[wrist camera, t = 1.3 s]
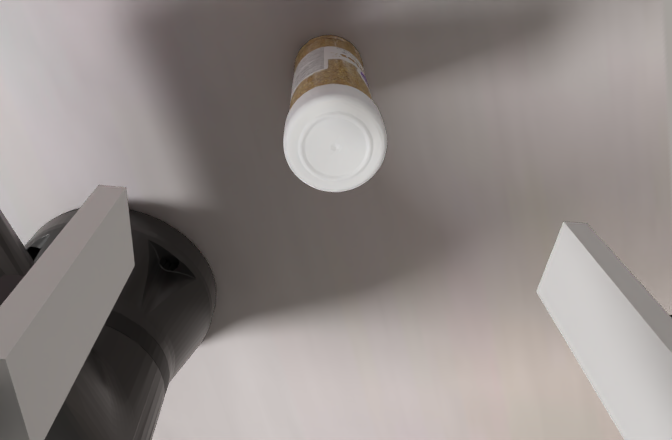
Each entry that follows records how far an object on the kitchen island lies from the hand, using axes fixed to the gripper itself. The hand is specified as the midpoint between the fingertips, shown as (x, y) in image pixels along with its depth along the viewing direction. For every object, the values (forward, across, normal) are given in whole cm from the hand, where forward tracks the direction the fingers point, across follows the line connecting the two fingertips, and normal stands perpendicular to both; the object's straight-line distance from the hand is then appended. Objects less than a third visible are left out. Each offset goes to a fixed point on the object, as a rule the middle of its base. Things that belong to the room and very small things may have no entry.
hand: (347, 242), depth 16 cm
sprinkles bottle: (+21, 0, 0) cm, 21 cm away
